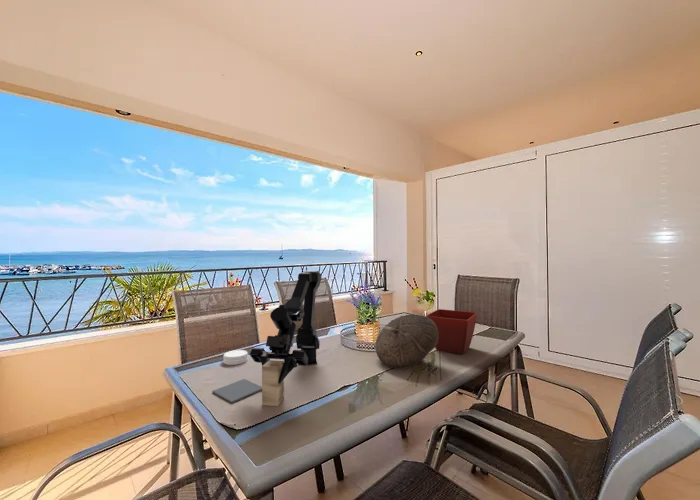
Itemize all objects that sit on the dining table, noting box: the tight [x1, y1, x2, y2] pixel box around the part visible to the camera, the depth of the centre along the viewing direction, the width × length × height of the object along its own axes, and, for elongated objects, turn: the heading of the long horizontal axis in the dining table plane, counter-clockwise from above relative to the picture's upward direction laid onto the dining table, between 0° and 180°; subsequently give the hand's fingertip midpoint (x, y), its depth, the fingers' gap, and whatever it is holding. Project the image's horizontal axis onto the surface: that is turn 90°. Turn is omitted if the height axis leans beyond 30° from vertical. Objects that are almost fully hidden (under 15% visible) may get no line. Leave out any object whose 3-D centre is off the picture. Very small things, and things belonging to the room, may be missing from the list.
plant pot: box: [426, 308, 478, 355], centre depth 145 cm, size 19×19×17 cm
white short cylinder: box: [222, 349, 249, 366], centre depth 131 cm, size 10×10×4 cm
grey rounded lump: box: [375, 314, 439, 369], centre depth 128 cm, size 28×23×25 cm
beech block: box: [261, 359, 285, 407], centre depth 95 cm, size 5×5×12 cm
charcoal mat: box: [212, 378, 262, 404], centre depth 102 cm, size 12×12×1 cm
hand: (271, 382), depth 93 cm, fingers closed on beech block, 5 cm apart
